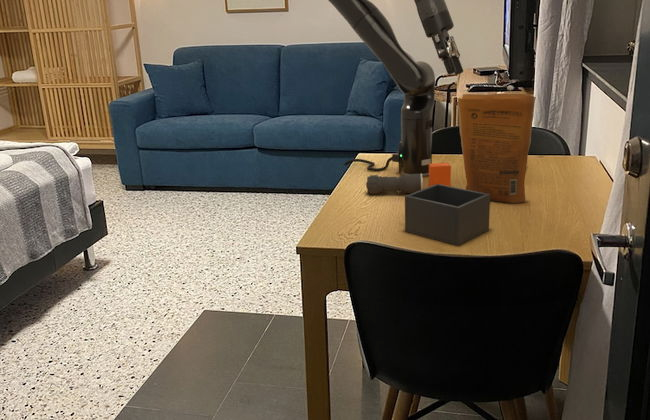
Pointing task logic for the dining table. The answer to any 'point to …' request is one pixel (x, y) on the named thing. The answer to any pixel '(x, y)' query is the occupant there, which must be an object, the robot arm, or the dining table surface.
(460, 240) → the trash bin
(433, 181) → the block
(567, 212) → the dining table surface
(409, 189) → the flashlight
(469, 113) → the pancake mix bag
